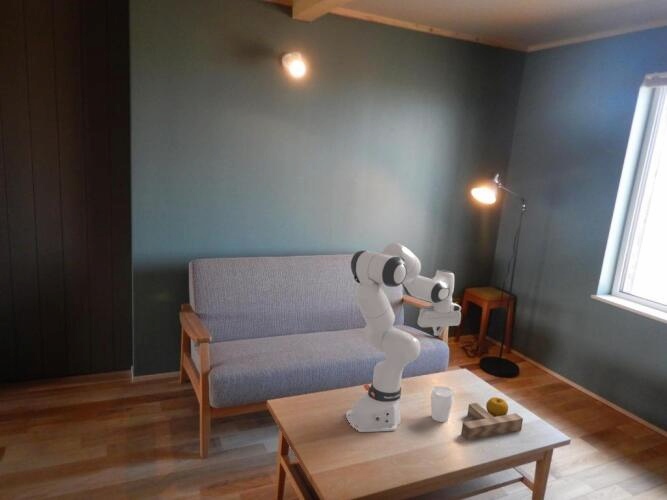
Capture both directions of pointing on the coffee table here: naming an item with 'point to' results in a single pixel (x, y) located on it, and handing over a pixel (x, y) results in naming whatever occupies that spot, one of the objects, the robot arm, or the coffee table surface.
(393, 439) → the coffee table surface
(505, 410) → the apple
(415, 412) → the coffee table surface
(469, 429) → the t block
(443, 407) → the cup
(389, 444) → the coffee table surface
